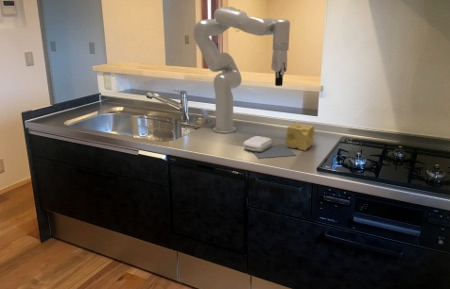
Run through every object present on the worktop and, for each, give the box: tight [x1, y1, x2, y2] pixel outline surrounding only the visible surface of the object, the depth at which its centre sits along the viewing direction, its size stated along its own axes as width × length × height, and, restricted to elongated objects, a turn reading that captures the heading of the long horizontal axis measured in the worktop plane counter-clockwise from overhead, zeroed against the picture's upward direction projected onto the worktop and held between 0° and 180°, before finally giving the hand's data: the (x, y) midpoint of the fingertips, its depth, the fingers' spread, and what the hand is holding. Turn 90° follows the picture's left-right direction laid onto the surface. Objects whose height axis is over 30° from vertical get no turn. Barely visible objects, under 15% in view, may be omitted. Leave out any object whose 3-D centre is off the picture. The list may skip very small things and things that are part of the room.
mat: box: [252, 143, 297, 160], centre depth 189 cm, size 16×18×1 cm
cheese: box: [285, 122, 315, 151], centre depth 194 cm, size 10×11×10 cm
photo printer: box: [242, 135, 274, 152], centre depth 191 cm, size 10×4×12 cm
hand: (278, 85), depth 195 cm, fingers closed
